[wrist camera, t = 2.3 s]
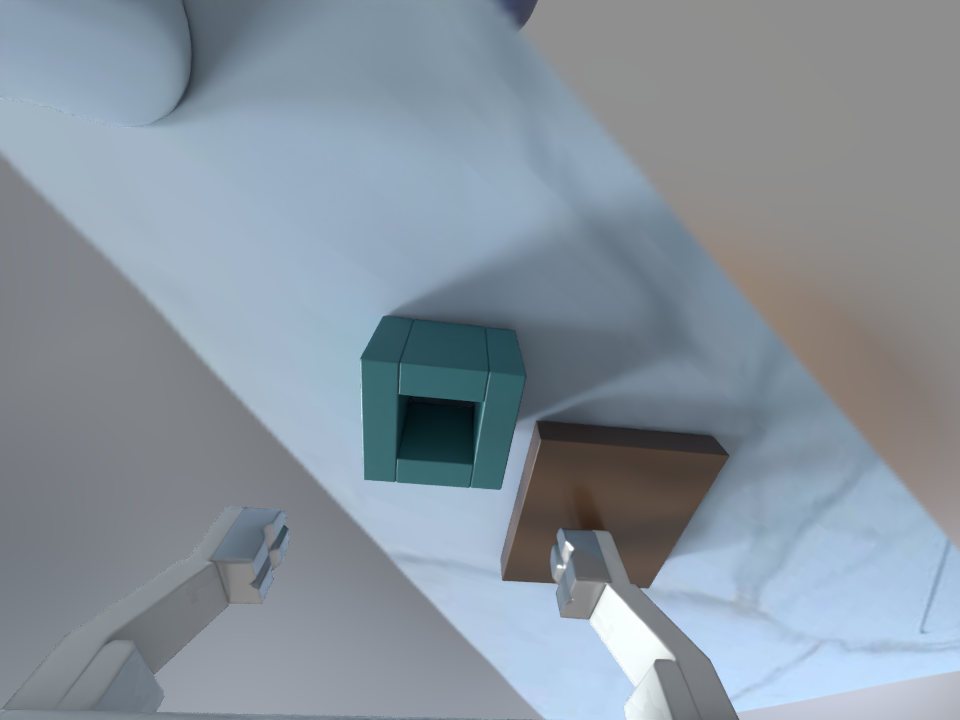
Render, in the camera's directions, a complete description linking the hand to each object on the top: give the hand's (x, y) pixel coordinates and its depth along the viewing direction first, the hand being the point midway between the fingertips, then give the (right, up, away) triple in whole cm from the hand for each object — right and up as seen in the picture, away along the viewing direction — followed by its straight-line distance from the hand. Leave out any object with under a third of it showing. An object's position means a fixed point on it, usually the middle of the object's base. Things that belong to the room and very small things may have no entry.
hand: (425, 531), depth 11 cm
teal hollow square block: (0, +4, +7) cm, 8 cm away
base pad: (+9, -4, +12) cm, 15 cm away
